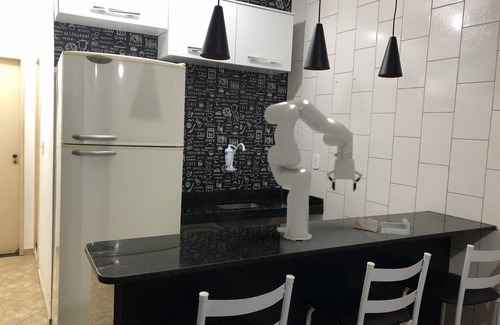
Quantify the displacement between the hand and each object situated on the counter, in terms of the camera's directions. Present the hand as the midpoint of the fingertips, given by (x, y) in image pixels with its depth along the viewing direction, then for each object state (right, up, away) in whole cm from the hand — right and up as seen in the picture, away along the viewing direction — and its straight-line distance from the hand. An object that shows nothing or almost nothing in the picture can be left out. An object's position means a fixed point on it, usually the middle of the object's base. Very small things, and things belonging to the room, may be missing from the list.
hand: (343, 190), depth 199 cm
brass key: (+27, -18, +8) cm, 34 cm away
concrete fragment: (+10, -19, -2) cm, 22 cm away
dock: (+23, -19, -5) cm, 30 cm away
